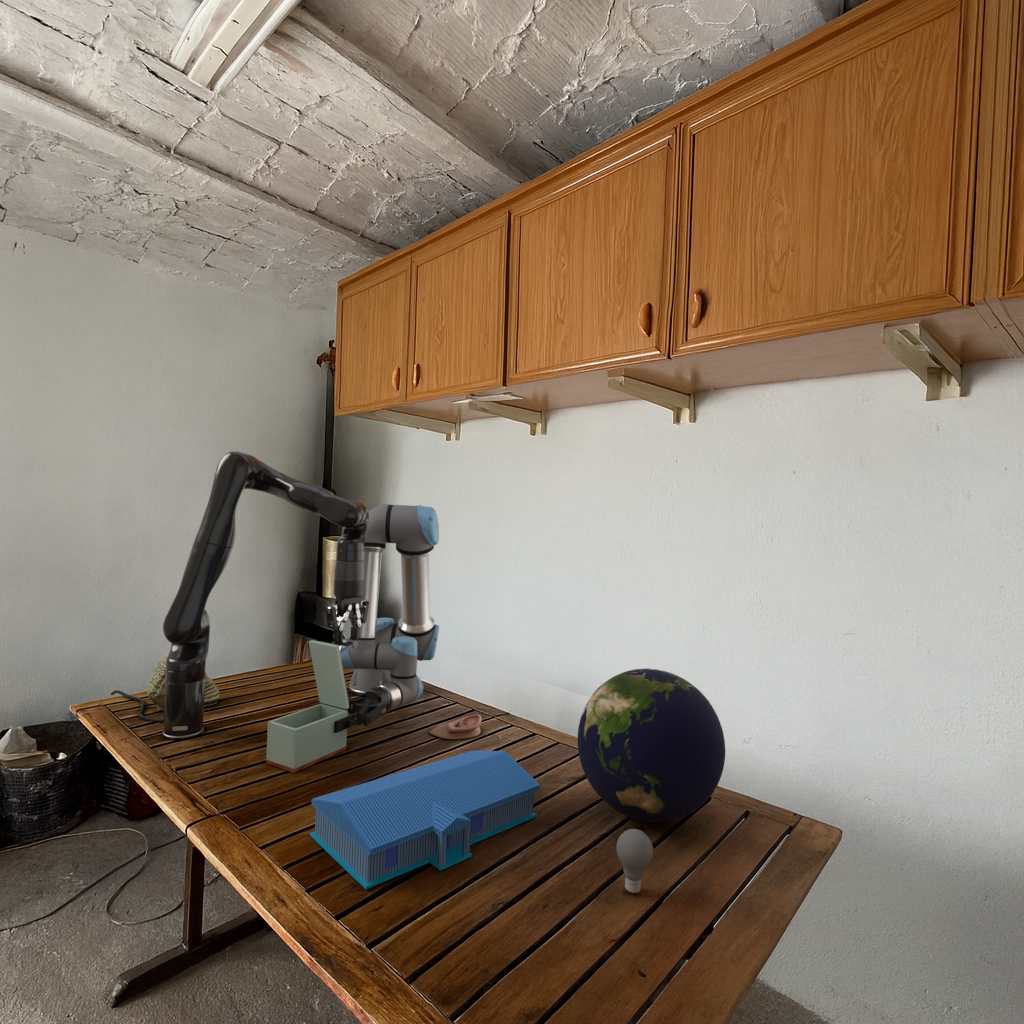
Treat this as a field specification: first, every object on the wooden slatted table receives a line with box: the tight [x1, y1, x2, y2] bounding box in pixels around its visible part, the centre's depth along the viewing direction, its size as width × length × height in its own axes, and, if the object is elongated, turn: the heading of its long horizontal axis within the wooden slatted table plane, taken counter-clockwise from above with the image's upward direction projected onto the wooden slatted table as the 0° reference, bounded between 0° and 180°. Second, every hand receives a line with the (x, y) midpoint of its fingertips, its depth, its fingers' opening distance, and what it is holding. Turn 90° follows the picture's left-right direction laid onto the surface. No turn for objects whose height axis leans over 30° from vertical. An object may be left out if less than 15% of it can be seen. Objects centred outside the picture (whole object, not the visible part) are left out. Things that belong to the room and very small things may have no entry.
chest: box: [265, 703, 349, 774], centre depth 154 cm, size 17×9×10 cm, turn 151°
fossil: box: [147, 654, 221, 712], centre depth 185 cm, size 9×18×15 cm, turn 132°
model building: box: [309, 750, 541, 890], centre depth 123 cm, size 39×24×10 cm, turn 132°
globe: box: [577, 667, 726, 824], centre depth 132 cm, size 30×30×30 cm
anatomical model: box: [429, 713, 482, 740], centre depth 174 cm, size 13×4×12 cm
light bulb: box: [615, 828, 654, 894], centre depth 106 cm, size 6×6×10 cm
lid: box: [308, 637, 358, 709], centre depth 162 cm, size 17×9×9 cm
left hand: (346, 642), depth 164 cm, fingers open, 5 cm apart
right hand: (320, 722), depth 157 cm, fingers closed on chest, 9 cm apart
